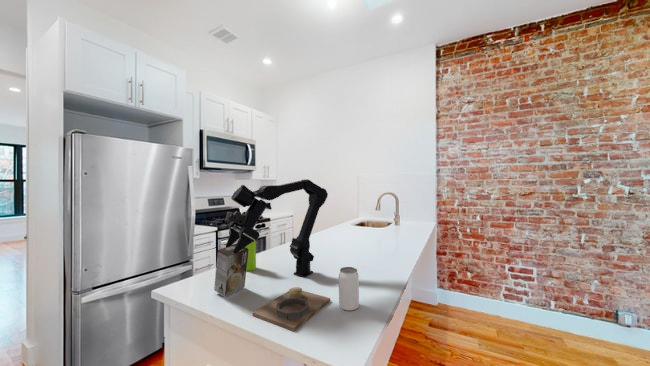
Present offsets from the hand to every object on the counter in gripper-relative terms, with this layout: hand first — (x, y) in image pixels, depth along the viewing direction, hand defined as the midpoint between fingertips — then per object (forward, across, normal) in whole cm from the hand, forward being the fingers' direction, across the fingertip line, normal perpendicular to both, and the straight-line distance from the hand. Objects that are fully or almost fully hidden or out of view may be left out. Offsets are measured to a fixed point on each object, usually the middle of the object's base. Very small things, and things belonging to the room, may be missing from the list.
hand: (230, 250), depth 94 cm
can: (-3, +34, +32) cm, 47 cm away
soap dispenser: (+5, -21, +21) cm, 30 cm away
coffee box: (+12, -2, +9) cm, 15 cm away
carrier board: (+5, +24, +20) cm, 31 cm away
